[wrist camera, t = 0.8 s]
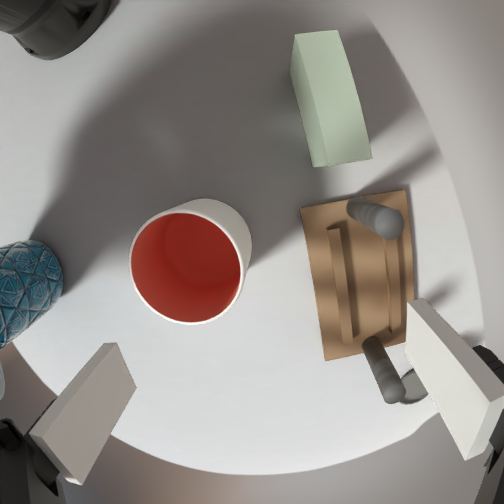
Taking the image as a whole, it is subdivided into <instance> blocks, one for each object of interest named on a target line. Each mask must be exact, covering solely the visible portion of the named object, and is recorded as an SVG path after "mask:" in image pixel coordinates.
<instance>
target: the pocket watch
mask: <svg viewBox="0 0 504 504" xmlns="http://www.w3.org/2000/svg"><path fill="white" fill-rule="evenodd" d="M401 381H402V383H403V385H404V387H405V388H406V395H405V396H404V398H403V399H402V400H400V401H399V402H400V403H401V404H406V405H407V404H413V403H416V402H419V401H421V400H422V399H424V398H425V397H426V396H427V395H428V392H427V390H426V388H425V387H424V385H423V383H422V382H421V380H420V378H419V377H418V375H417V373H416V372H415V370H414V371H411V372H410V373H408V374H407V375H405V376H404V377H403V378H402V379H401Z"/></svg>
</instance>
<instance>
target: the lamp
mask: <svg viewBox="0 0 504 504" xmlns="http://www.w3.org/2000/svg"><path fill="white" fill-rule="evenodd" d="M62 289H63V274H62V269H61V266H60V263H59V261H58V259H57V257H56V256H55V254H54V253H53V252H52V250H51V249H50V248H49V247H48V246H46V245H45V244H44V243H42V242H39V241H35V240H25V241H19V242H15V243H12V244H8V245H5V246H2V247H0V349H1V348H3V347H4V346H5V345H7V344H8V343H9V342H11V341H12V340H13V339H15V338H16V337H17V336H19V335H20V334H21V333H22V332H24V331H25V330H26V329H28V328H29V327H30V326H31V325H32V324H34V323H35V322H36V321H37V320H39V319H40V318H41V317H42V316H43V315H44V314H46V313H47V312H48V311H49V310H50V309H51V308H52V307H53V306H54V305H55V303H56V302H57V301H58V299H59V297H60V295H61V293H62ZM4 391H5V381H4V374H3V370H2V365H1V362H0V400H1V399H2V398H3V395H4Z"/></svg>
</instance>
